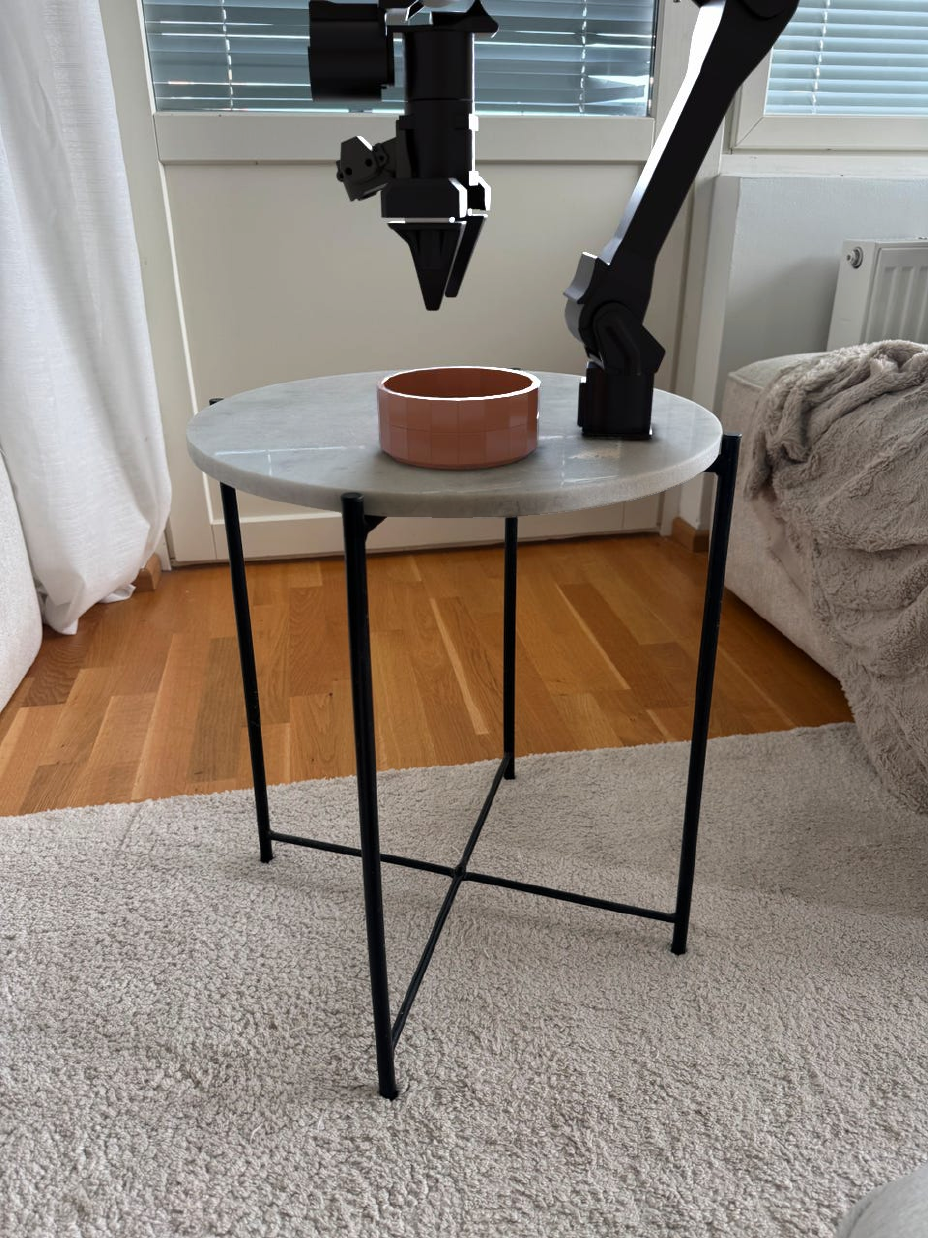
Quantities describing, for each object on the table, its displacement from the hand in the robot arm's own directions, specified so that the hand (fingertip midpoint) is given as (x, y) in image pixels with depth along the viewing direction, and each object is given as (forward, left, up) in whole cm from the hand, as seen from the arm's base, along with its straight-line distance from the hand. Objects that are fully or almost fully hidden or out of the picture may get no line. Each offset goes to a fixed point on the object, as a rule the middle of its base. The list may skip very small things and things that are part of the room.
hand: (442, 303), depth 81 cm
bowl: (-2, +4, -12) cm, 13 cm away
